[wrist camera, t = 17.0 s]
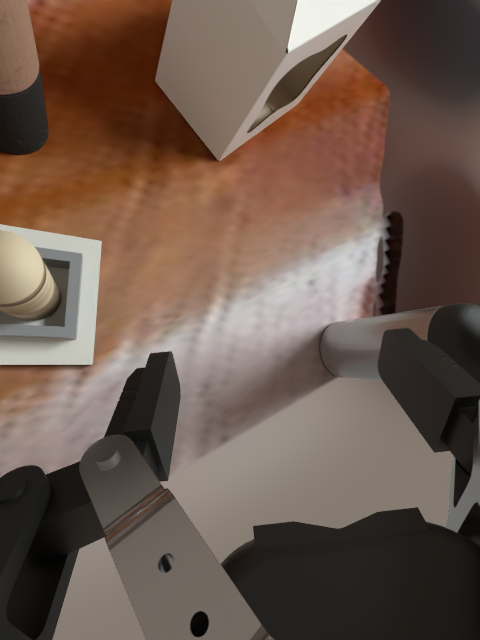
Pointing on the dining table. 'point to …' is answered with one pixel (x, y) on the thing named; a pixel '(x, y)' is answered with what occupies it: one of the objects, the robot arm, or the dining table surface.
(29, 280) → the lidded cup
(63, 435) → the dining table surface
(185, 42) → the gable box
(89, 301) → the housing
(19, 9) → the travel mug
